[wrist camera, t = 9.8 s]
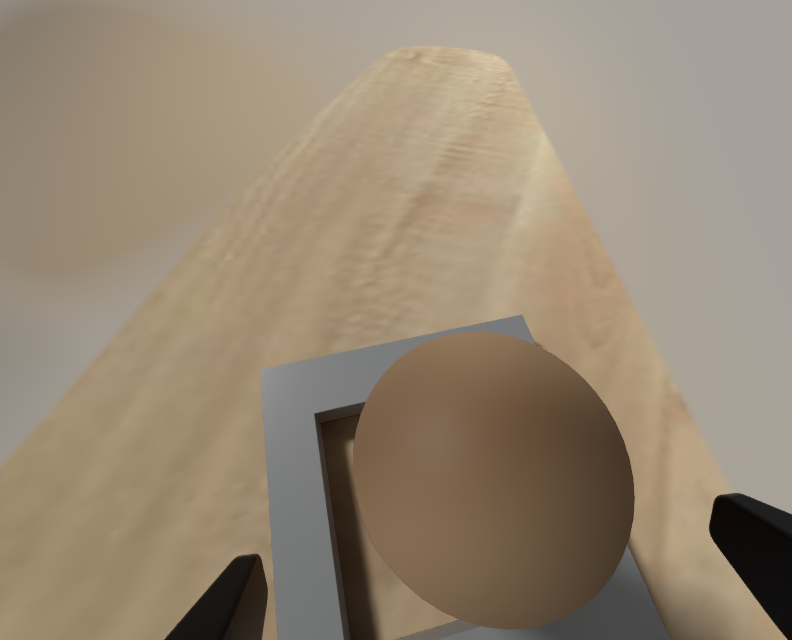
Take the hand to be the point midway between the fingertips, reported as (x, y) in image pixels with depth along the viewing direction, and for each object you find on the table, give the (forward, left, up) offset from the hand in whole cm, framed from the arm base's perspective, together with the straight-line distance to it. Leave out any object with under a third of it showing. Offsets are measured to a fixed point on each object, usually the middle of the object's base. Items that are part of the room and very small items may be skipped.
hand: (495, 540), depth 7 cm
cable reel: (+1, 0, -13) cm, 13 cm away
